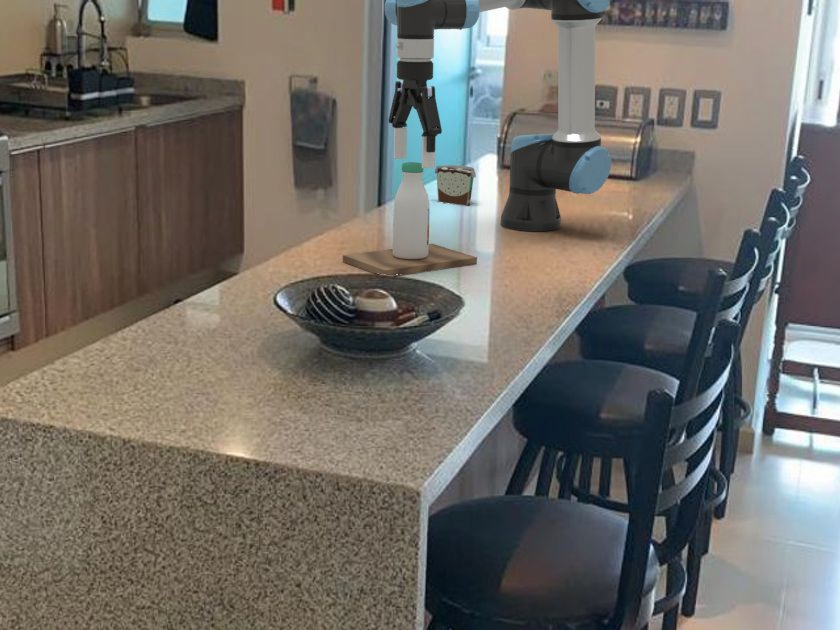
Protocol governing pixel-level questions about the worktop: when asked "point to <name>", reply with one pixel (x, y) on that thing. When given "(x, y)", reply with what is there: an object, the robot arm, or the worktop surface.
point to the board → (409, 261)
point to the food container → (455, 184)
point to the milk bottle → (411, 215)
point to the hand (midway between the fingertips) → (413, 163)
